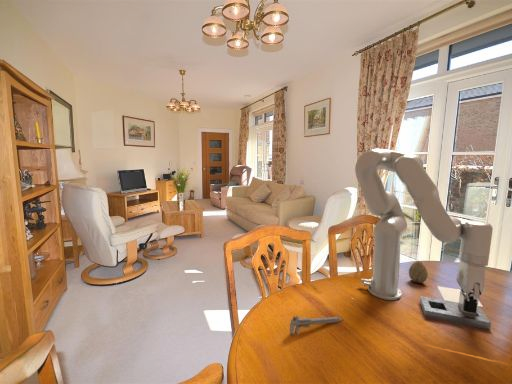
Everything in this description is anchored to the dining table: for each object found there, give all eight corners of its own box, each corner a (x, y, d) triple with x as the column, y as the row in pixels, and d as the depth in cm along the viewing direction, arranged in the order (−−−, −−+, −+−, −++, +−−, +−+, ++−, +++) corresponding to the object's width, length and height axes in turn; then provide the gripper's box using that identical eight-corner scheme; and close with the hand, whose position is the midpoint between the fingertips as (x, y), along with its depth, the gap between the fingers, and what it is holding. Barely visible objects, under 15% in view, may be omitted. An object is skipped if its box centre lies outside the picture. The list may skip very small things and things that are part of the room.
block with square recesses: (424, 318, 91) (425, 310, 91) (419, 303, 100) (420, 296, 100) (489, 331, 84) (491, 322, 84) (478, 314, 93) (479, 306, 93)
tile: (444, 301, 101) (444, 300, 101) (436, 287, 112) (437, 286, 112) (483, 308, 97) (483, 306, 97) (471, 292, 108) (471, 291, 107)
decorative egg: (430, 286, 113) (432, 264, 112) (414, 286, 113) (415, 264, 112) (420, 278, 120) (421, 257, 119) (404, 278, 120) (406, 258, 119)
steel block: (461, 318, 90) (463, 296, 88) (457, 311, 93) (460, 290, 92) (475, 321, 88) (478, 299, 87) (471, 314, 92) (474, 293, 90)
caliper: (291, 336, 83) (291, 318, 82) (289, 334, 84) (289, 316, 83) (342, 321, 91) (343, 304, 90) (340, 319, 92) (341, 302, 91)
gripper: (452, 247, 96) (447, 293, 99) (468, 265, 81) (462, 319, 84) (478, 250, 94) (472, 298, 96) (499, 269, 78) (491, 325, 81)
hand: (467, 307), depth 90 cm, fingers closed on steel block, 4 cm apart
